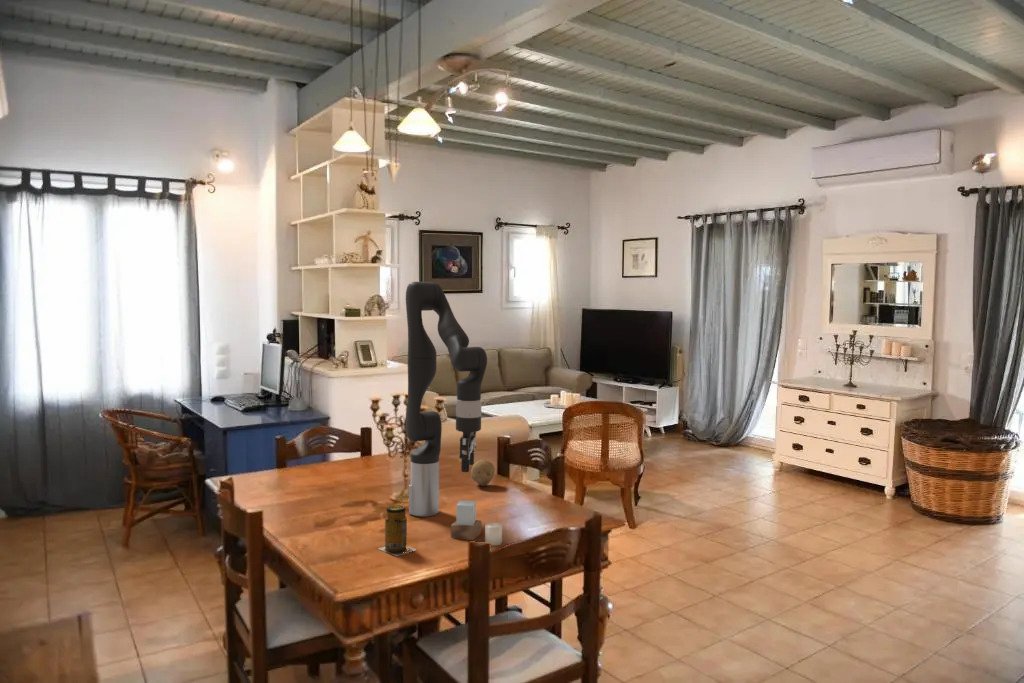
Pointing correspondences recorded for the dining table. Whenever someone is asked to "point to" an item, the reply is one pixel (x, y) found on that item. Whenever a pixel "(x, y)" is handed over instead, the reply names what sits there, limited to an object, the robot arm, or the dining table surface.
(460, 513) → the pale grey block
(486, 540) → the cream cylinder
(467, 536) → the walnut block
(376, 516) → the dining table surface
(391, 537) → the condiment
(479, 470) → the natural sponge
